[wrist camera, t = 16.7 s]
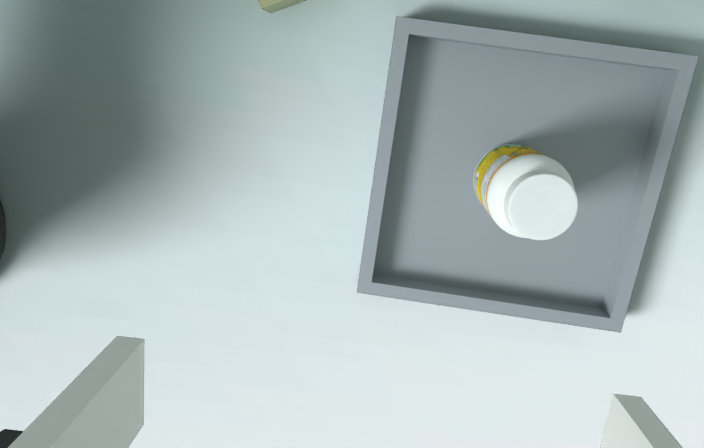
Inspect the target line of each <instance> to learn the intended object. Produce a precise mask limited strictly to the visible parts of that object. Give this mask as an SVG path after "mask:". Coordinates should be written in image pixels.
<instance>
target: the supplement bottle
mask: <svg viewBox="0 0 704 448" xmlns="http://www.w3.org/2000/svg"><path fill="white" fill-rule="evenodd" d="M473 185H474V190H475V193H476V196H477V198H478V199H479V201H480V203H481V204H482V205H483V207H484V208H485V209H486V210H487V212H488V213H489V215H490V216H491V218H492V219H493V220H494V221H495V223H496V224H497V225H498V226H499V227H500V228H501V229H502V230H504V231H505V232H507V233H509V234H511V235H513V236H516V237H521V238H529V239H533V240H548V239H552V238H555V237H557V236H559V235H561V234H562V233H564V232H565V231H566V230H567V229H568V228H569V227H570V226H571V224H572V223H573V221H574V220H575V217H576V215H577V211H578V198H577V194H576V192H575V188H574V184H573V181H572V179H571V177H570V175H569V173H568V172H567V170H566V169H565V168H564V167H563V166H562V165H561V164H560V163H558V162H557V161H555V160H554V159H552V158H550V157H548V156H545V155H543V154H541V153H540V152H537V151H535V150H533V149H532V148H529V147H527V146H524V145H519V144H506V145H501V146H498V147H495V148H493V149H491V150H490V151H489V152H487V153H486V154H485V155H484V156H483V157H482V158H481V160H480V161H479V163H478V164H477V167H476V169H475V172H474V177H473Z"/></svg>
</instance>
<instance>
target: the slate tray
mask: <svg viewBox="0 0 704 448" xmlns="http://www.w3.org/2000/svg"><path fill="white" fill-rule="evenodd" d="M698 57H699V56H693V55H686V54H678V53H671V52H663V51H655V50H648V49H640V48H633V47H625V46H618V45H610V44H602V43H595V42H587V41H580V40H572V39H564V38H557V37H549V36H542V35H534V34H527V33H519V32H511V31H504V30H496V29H489V28H481V27H473V26H466V25H458V24H451V23H443V22H436V21H428V20H420V19H413V18H405V17H398V16H396V23H395V30H394V36H393V43H392V50H391V57H390V64H389V71H388V78H387V85H386V92H385V99H384V106H383V113H382V120H381V127H380V134H379V141H378V148H377V155H376V162H375V169H374V176H373V183H372V190H371V197H370V204H369V211H368V218H367V225H366V232H365V239H364V246H363V253H362V260H361V267H360V274H359V281H358V288H357V293H363V294H369V295H376V296H383V297H389V298H396V299H402V300H409V301H416V302H422V303H429V304H435V305H442V306H449V307H455V308H462V309H468V310H475V311H482V312H488V313H495V314H502V315H508V316H515V317H521V318H528V319H535V320H541V321H548V322H554V323H561V324H568V325H574V326H581V327H587V328H594V329H601V330H607V331H614V332H620V333H621V330H622V326H623V323H624V319H625V316H626V312H627V309H628V305H629V302H630V298H631V294H632V291H633V287H634V284H635V280H636V277H637V273H638V270H639V266H640V263H641V259H642V255H643V252H644V248H645V245H646V241H647V238H648V234H649V231H650V227H651V224H652V220H653V216H654V213H655V209H656V206H657V202H658V199H659V195H660V192H661V188H662V184H663V181H664V177H665V174H666V170H667V167H668V163H669V160H670V156H671V153H672V149H673V145H674V142H675V138H676V135H677V131H678V128H679V124H680V121H681V117H682V114H683V110H684V106H685V103H686V99H687V96H688V92H689V89H690V85H691V82H692V78H693V75H694V71H695V67H696V64H697V60H698ZM506 144H519V145H524V146H527V147H529V148H532V149H533V150H535V151H537V152H540V153H541V154H543V155H545V156H548V157H550V158H552V159H554V160H555V161H557V162H558V163H560V164H561V165H562V166H563V167H564V168H565V169H566V170H567V172H568V173H569V175H570V177H571V179H572V181H573V184H574V188H575V192H576V194H577V198H578V211H577V215H576V217H575V220H574V221H573V223H572V224H571V226H570V227H569V228H568V229H567V230H566V231H565V232H564V233H562V234H561V235H559V236H557V237H555V238H552V239H548V240H533V239H529V238H521V237H516V236H513V235H511V234H509V233H507V232H505V231H504V230H502V229H501V228H500V227H499V226H498V225H497V224H496V223H495V221H494V220H493V219H492V218H491V216H490V215H489V213H488V212H487V210H486V209H485V208H484V207H483V205H482V204H481V203H480V201H479V199H478V198H477V196H476V193H475V190H474V185H473V177H474V172H475V169H476V167H477V164H478V163H479V161H480V160H481V158H482V157H483V156H484V155H485V154H486V153H487V152H489V151H490V150H491V149H493V148H495V147H498V146H501V145H506Z"/></svg>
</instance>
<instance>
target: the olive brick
mask: <svg viewBox="0 0 704 448" xmlns="http://www.w3.org/2000/svg"><path fill="white" fill-rule="evenodd" d="M303 1H306V0H259V2H260V5H261V8H262V9H264V10H265V11H267V12H269V13H272V12H275V11H278V10H280V9H283V8H286V7H289V6H292V5H294V4H297V3H300V2H303Z"/></svg>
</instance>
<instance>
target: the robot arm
mask: <svg viewBox="0 0 704 448" xmlns="http://www.w3.org/2000/svg"><path fill="white" fill-rule="evenodd" d="M4 238H5V225H4V216H3V211H2V207H1V204H0V257H1V254H2V251H3V246H4ZM143 424H144V339H139V338H131V337H122V336H117V337H116V338H115V339H114V340H113V341H112V342H111V343H110V344H109V345H108V346H107V347H106V348H105V349H104V350H103V351H102V352H101V353H100V354H99V355H98V356H97V357H96V358H95V359H94V360H93V361H92V362H91V363H90V364H89V365H88V366H87V367H86V368H85V369H84V370H83V371H82V372H81V373H80V374H79V375H78V376H77V377H76V378H75V380H74V381H73V382H72V383H71V384H70V385H69V386H68V387H67V388H66V389H65V390H64V391H63V392H62V393H61V394H60V395H59V396H58V397H57V398H56V399H55V400H54V401H53V402H52V403H51V404H50V405H49V406H48V407H47V408H46V409H45V410H44V411H43V412H42V413H41V414H40V415H39V416H38V417H37V418H36V419H35V420H34V421H33V422H32V423H31V424H30V425H29V426H28V427H27V428H26V429H25V430H24V431H17V430H8V429H4V430H2V431H1V432H0V448H128V447H129V446H130V444H131V443H132V441H133V440H134V438H135V437H136V435H137V434H138V432H139V431H140V429H141V428H142V426H143ZM599 448H683V447H682V446H681V445H680V444H679V443H678V441H677V440H676V439H675V438H674V436H673V435H672V434H671V433H670V432H669V430H668V429H667V428H666V427H665V426H664V424H663V423H662V422H661V421H660V419H659V418H658V417H657V416H656V415H655V413H654V412H653V411H652V410H651V409H650V407H649V406H648V405H647V404H646V402H645V401H644V400H643V399H642V398H641V397H637V396H628V395H620V394H613V397H612V401H611V405H610V408H609V412H608V416H607V420H606V424H605V427H604V431H603V435H602V439H601V443H600V446H599Z"/></svg>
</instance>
